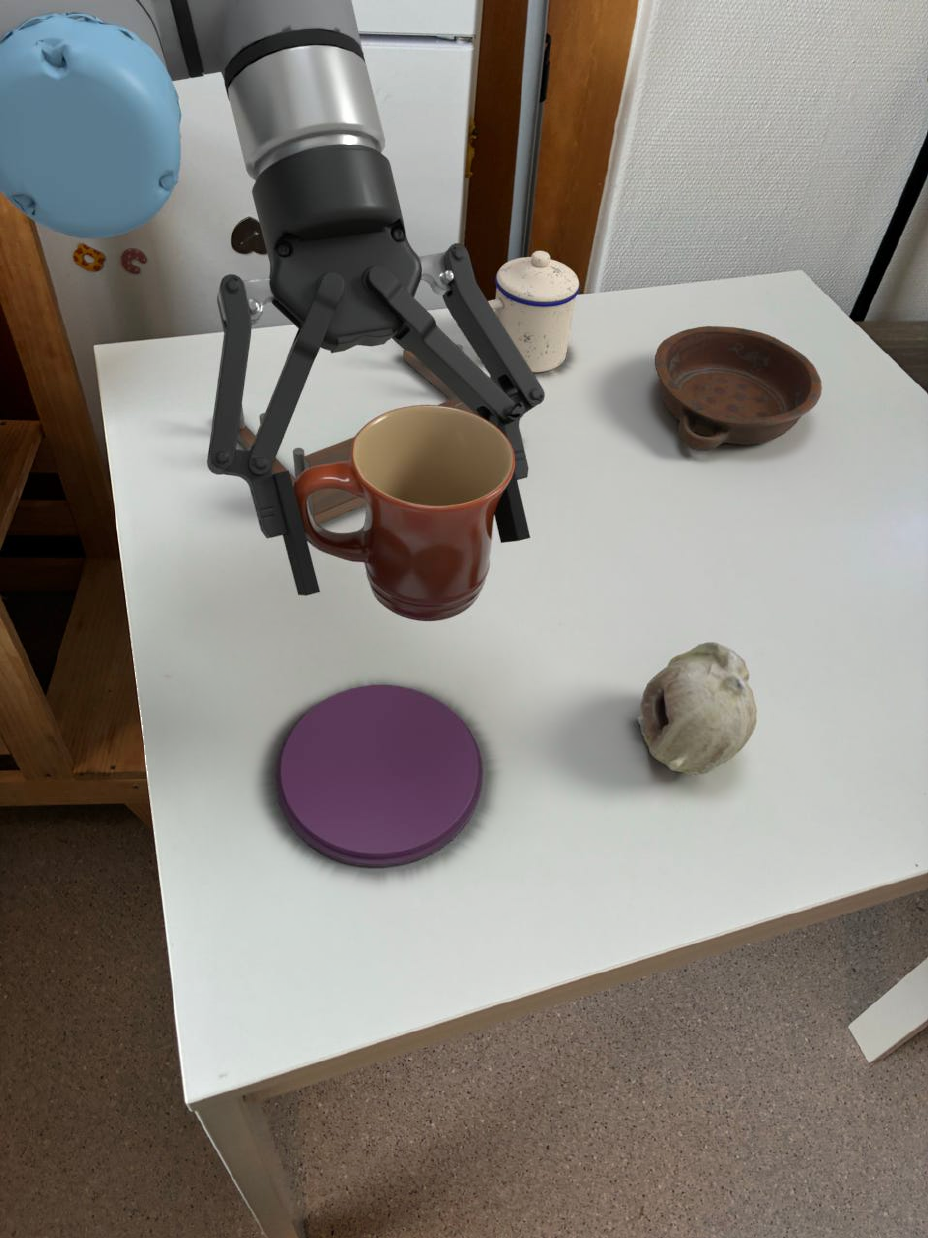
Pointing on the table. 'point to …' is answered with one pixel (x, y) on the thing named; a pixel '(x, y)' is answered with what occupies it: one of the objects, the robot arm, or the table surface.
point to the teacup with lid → (537, 307)
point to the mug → (418, 506)
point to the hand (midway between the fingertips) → (416, 566)
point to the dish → (734, 385)
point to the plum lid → (379, 776)
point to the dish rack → (340, 453)
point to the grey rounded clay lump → (698, 709)
